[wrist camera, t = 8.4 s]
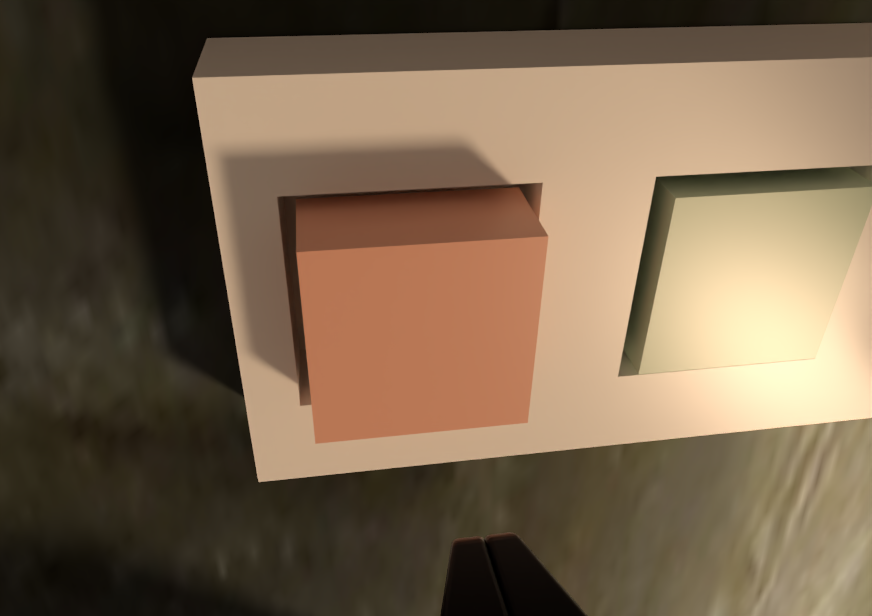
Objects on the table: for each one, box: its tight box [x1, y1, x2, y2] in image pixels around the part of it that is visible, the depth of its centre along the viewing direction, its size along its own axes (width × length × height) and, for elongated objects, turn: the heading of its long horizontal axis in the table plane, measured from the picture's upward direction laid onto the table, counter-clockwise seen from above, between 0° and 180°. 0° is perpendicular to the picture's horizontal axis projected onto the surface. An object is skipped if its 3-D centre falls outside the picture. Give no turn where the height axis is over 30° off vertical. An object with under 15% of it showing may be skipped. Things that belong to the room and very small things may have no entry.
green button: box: [623, 167, 872, 374], centre depth 16 cm, size 4×4×2 cm
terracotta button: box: [296, 187, 548, 444], centre depth 14 cm, size 4×4×2 cm
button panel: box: [192, 23, 872, 482], centre depth 17 cm, size 21×9×2 cm, turn 89°
